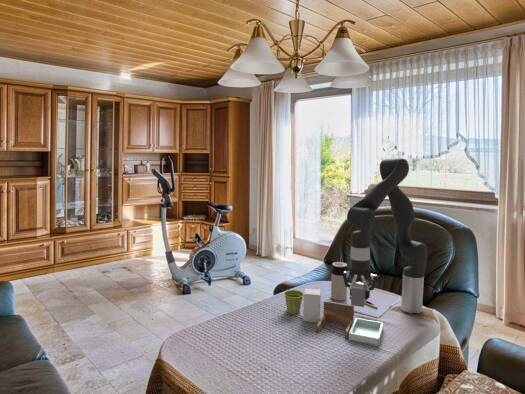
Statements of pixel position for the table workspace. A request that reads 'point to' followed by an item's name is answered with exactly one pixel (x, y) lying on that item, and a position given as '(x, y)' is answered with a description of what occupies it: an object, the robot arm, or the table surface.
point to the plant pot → (293, 300)
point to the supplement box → (311, 305)
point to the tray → (366, 331)
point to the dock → (337, 315)
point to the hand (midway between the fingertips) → (359, 297)
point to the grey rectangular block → (358, 294)
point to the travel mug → (338, 281)
